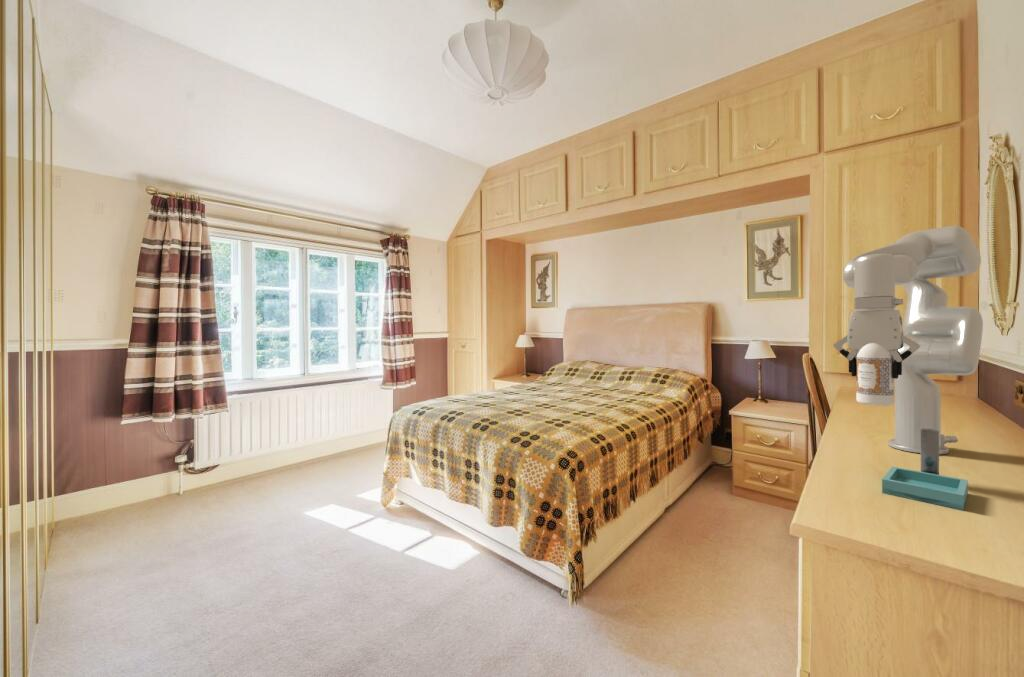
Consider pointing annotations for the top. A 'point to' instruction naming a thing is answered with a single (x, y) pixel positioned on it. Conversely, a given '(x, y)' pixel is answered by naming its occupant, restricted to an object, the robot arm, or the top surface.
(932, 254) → the robot arm
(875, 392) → the bath foam
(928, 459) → the post
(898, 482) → the holder tray
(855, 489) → the top surface
